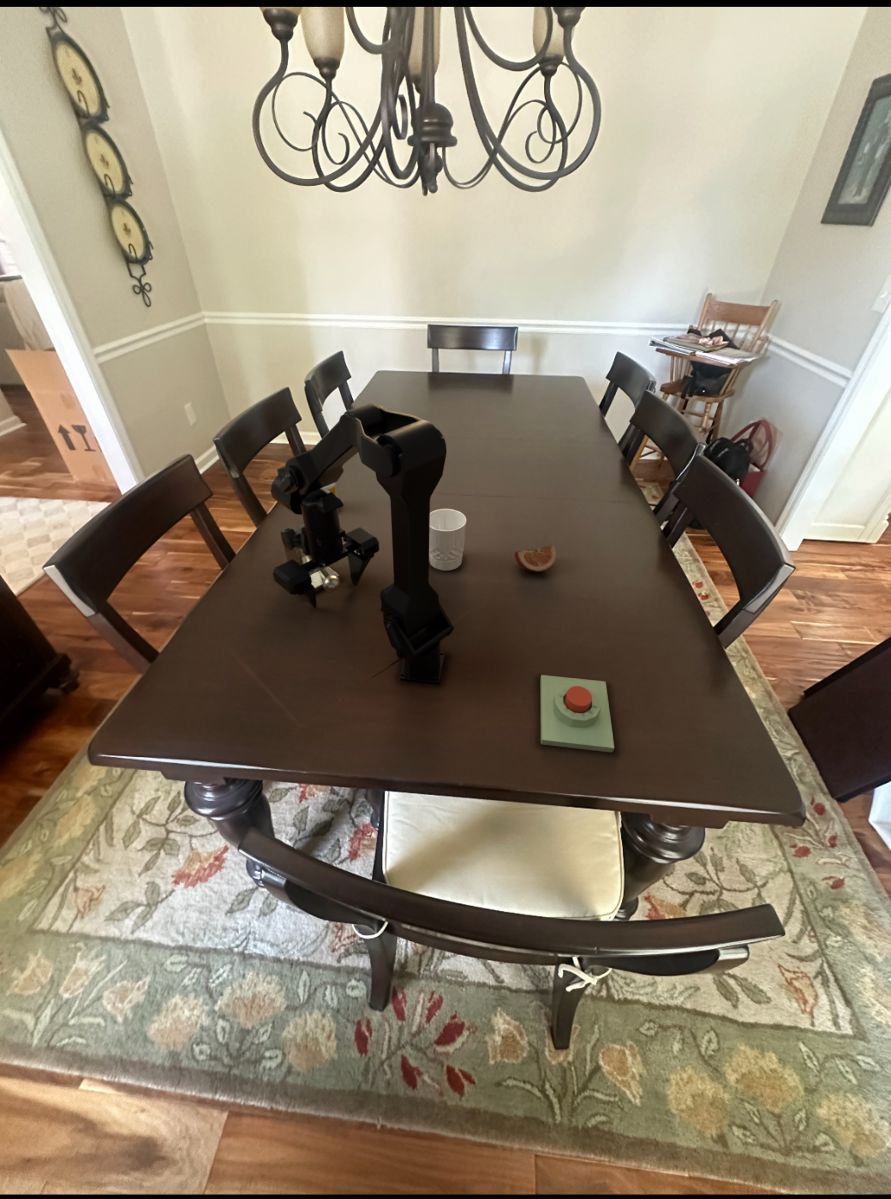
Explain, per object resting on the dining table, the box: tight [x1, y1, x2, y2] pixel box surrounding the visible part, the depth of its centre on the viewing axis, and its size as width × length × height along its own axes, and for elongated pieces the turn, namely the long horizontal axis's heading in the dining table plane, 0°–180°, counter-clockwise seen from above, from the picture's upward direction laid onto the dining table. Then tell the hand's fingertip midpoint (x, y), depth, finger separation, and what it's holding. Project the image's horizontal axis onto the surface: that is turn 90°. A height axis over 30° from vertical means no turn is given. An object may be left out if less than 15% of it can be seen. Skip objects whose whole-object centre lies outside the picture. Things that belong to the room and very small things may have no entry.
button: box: [565, 686, 592, 713], centre depth 75 cm, size 4×4×2 cm
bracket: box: [282, 523, 341, 597], centre depth 98 cm, size 10×8×10 cm
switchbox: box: [539, 674, 615, 753], centre depth 76 cm, size 12×10×3 cm
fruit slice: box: [514, 544, 558, 573], centre depth 102 cm, size 8×7×5 cm
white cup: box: [429, 508, 467, 572], centre depth 102 cm, size 8×8×10 cm
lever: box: [300, 548, 342, 594], centre depth 95 cm, size 13×3×3 cm
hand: (334, 595), depth 96 cm, fingers open, 9 cm apart
